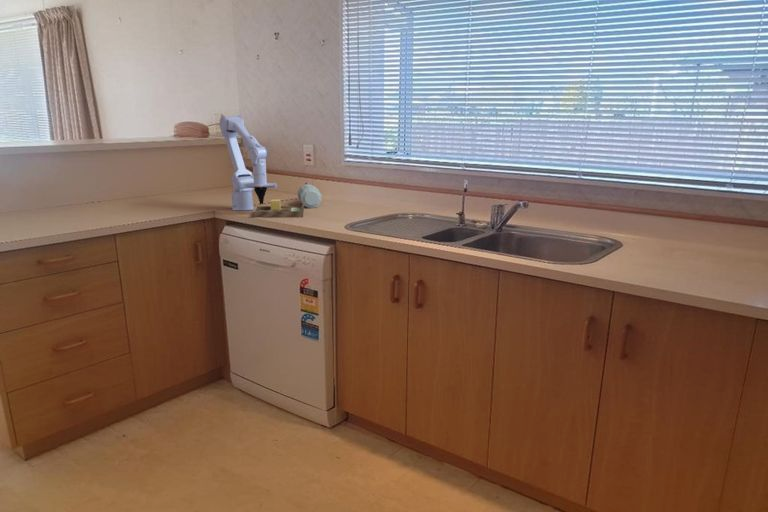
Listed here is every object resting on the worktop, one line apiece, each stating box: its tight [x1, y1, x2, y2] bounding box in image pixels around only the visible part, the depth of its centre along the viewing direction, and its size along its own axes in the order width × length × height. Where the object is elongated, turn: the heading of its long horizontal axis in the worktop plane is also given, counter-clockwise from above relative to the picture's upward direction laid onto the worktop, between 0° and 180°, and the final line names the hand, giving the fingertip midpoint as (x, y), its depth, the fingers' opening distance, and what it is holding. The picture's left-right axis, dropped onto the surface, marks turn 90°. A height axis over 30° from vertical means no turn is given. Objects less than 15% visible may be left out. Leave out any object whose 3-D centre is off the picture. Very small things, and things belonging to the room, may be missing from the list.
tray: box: [253, 203, 305, 218], centre depth 247 cm, size 22×13×4 cm, turn 96°
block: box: [270, 199, 282, 210], centre depth 249 cm, size 4×4×4 cm
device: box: [297, 182, 322, 209], centre depth 275 cm, size 31×10×10 cm, turn 16°
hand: (261, 203), depth 248 cm, fingers closed
